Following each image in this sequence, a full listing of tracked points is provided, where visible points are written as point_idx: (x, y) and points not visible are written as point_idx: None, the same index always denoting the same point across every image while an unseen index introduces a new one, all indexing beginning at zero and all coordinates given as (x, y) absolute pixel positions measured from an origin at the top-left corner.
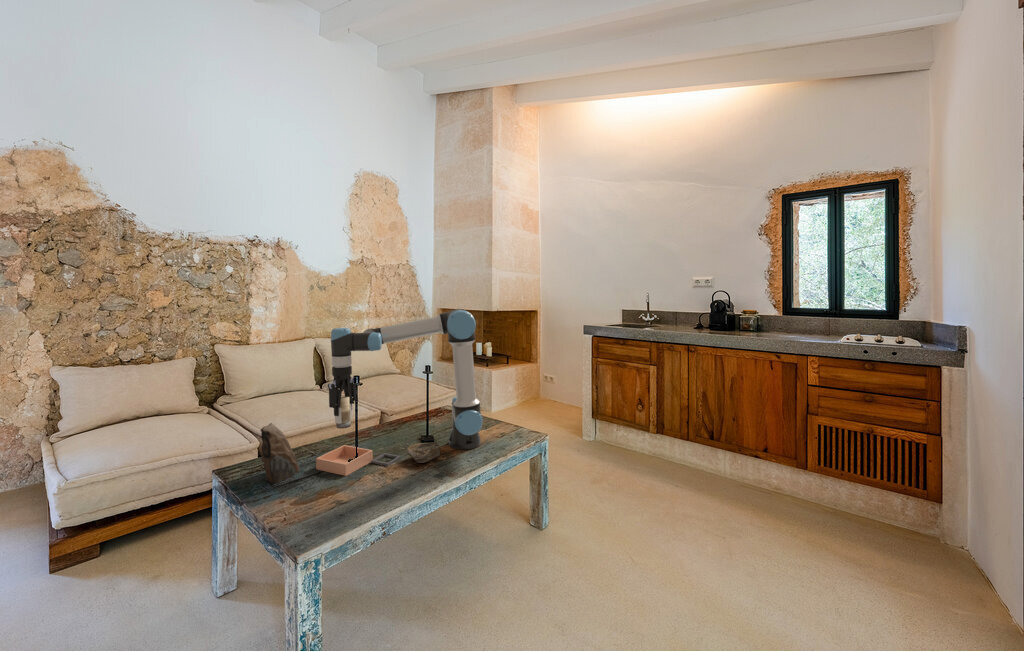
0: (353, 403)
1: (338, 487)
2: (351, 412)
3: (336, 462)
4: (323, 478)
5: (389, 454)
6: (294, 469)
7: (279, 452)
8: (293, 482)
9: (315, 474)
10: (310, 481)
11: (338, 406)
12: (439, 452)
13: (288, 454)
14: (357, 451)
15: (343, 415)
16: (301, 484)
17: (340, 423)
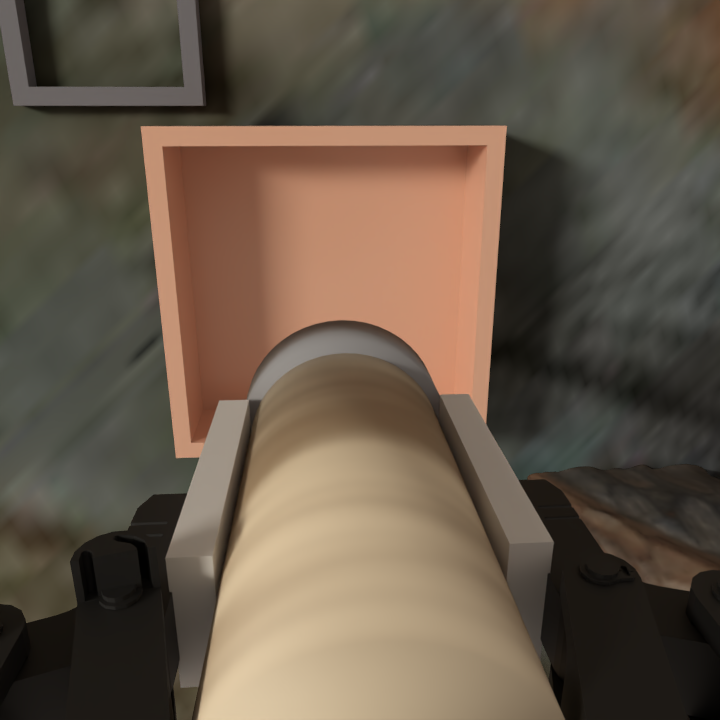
0: (117, 535)
1: (656, 31)
2: (204, 452)
3: (495, 238)
4: (565, 254)
5: (10, 33)
6: (584, 487)
7: None
8: (666, 387)
9: (530, 354)
10: (627, 300)
11: (616, 574)
12: None
13: (686, 564)
14: (183, 293)
15: (435, 433)
16: (677, 319)
17: (466, 394)
